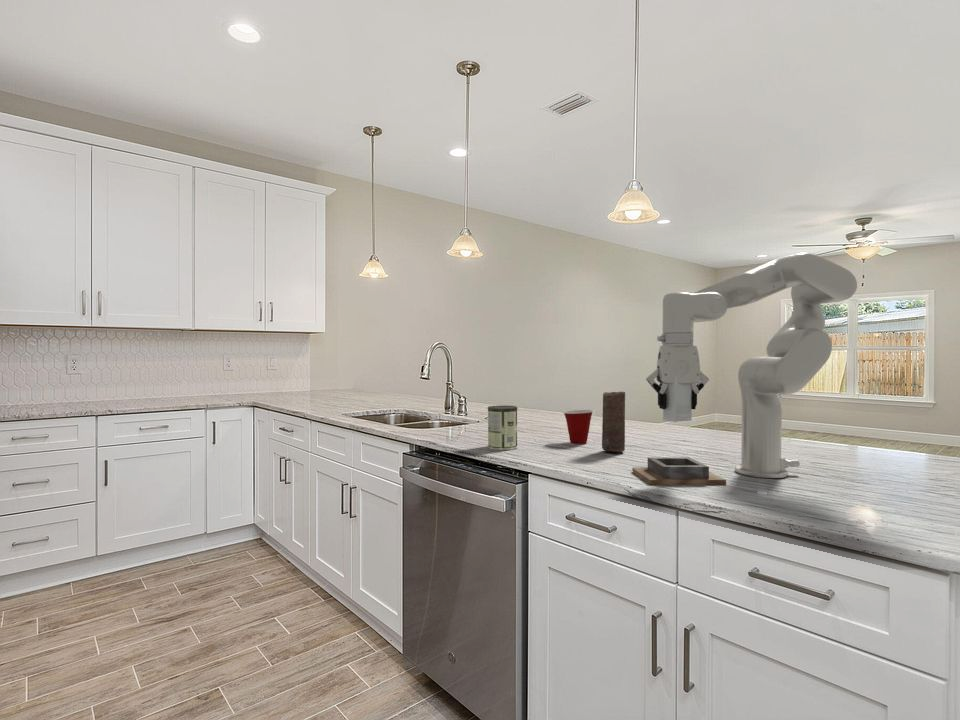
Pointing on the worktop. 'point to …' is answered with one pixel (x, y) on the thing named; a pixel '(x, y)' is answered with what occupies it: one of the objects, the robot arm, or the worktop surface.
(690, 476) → the holder
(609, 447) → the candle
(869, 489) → the worktop surface
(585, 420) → the plastic cup
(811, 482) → the worktop surface
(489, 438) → the coffee can
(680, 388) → the skincare box
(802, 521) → the worktop surface
